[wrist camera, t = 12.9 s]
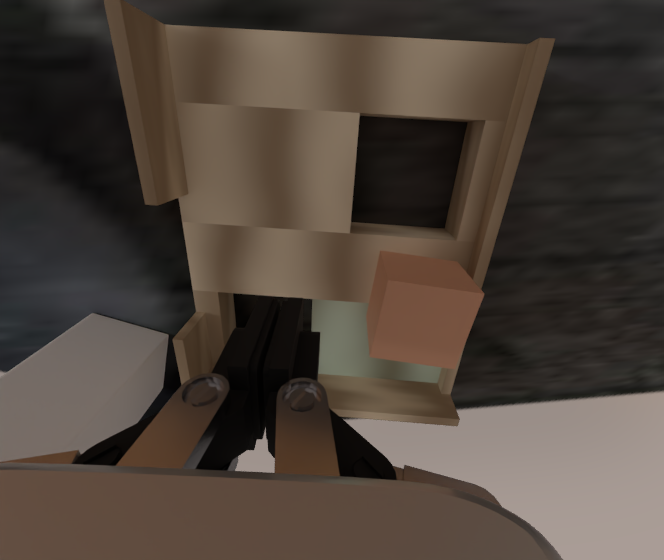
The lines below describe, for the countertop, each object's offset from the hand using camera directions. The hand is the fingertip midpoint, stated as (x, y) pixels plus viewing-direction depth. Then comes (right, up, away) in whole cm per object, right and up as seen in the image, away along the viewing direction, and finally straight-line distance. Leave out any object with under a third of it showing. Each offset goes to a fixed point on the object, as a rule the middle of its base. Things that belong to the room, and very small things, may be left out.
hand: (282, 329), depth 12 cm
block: (+7, +1, +7) cm, 10 cm away
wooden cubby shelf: (+2, +5, +8) cm, 10 cm away
